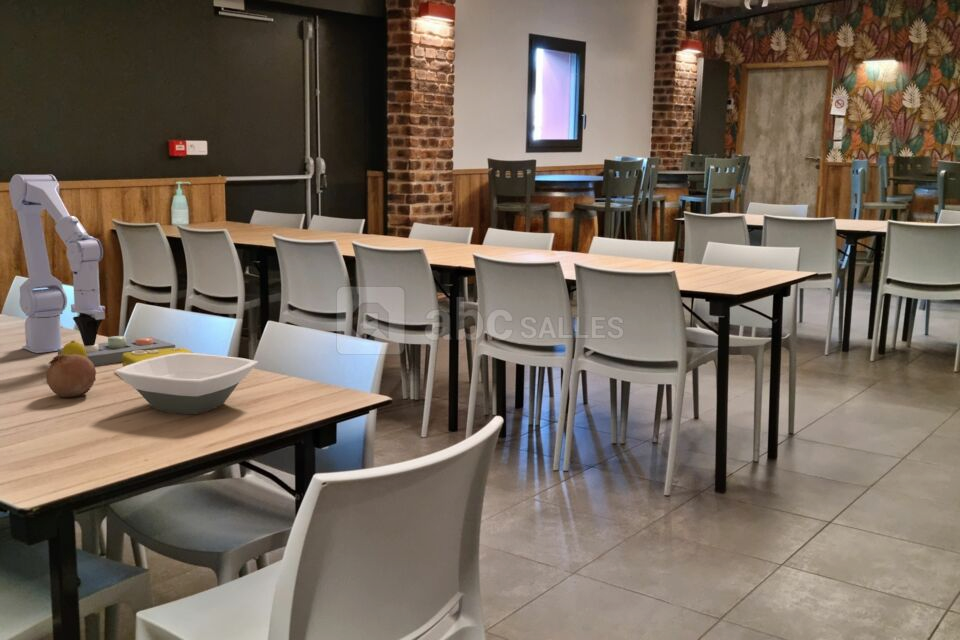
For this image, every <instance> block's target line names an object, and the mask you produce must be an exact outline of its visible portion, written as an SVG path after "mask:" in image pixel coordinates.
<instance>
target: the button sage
mask: <svg viewBox="0 0 960 640" xmlns="http://www.w3.org/2000/svg"><path fill="white" fill-rule="evenodd" d="M126 340H127V336H124V335H116V336H115V335H113V336H109V337H107V343H108V348H109V349H112V350H113V349H120V348H126Z"/></svg>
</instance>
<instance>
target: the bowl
mask: <svg viewBox="0 0 960 640" xmlns="http://www.w3.org/2000/svg"><path fill="white" fill-rule="evenodd" d="M257 364H259V361H258V360H254V359H249V358H243V357H235V356H226V355H218V354H217V355H216V354H208V353H197V352H196V353H195V352H194V353H174V354H169V355H163V356H159V357H155V358H151V359H146V360H142V361H139V362H136V363H133V364H130V365H127V366H125V367H123V366H122V367H121V368H118V369H116V370H114V373H115V374H116V375H117V376H118V377H120V378H121V379H122V380H123V381H125V383H127V384H128V385H130V387H132V388H133V389H134V390H136V391H137V392H138V393H139V394H140V395H141V396H142V397H143V398H144V400H145V401H147V403H148V404H149V405H150V406H151V408H153V409H154V410H156V411H157V410H158V411H160V412H166V413H167V412H168V413H173V414H180V415H193V414H195V415H198V413H199V414H202V412H203V413H206V412H209V411H212V410H214V409H213V408H215V407H217V408H218V406H219V407H221V406H222V405H224V404H225V402H226V401H227V400H228V399H229V397H230V396H231V394H232V393H233V392H234V390H235V389H236V388H237V387H238V385H239V384H240V382H242V381H243V379H245V377H246V376H248V374H249V373H250V372H251V371H252V370H253V369H254V368H255V367H256V366H257ZM223 403H224V404H223ZM221 404H222V405H221ZM220 405H221V406H220ZM211 409H212V410H211ZM215 409H216V408H215ZM208 410H209V411H208ZM205 411H206V412H205Z"/></svg>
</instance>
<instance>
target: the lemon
mask: <svg viewBox="0 0 960 640" xmlns="http://www.w3.org/2000/svg"><path fill="white" fill-rule="evenodd" d="M63 346H64V347H63V349H62V352H61V355H62V354H66V355H82V356H85V357H87V352H86V349H85V347H84V346H83V345H82V343H80V342H78V341H76V340H71V341H70V342H68V343H66V344H65V345H63Z"/></svg>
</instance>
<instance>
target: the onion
mask: <svg viewBox="0 0 960 640" xmlns="http://www.w3.org/2000/svg"><path fill="white" fill-rule="evenodd" d="M49 364H50V365H49ZM48 365H49V366H48V367H47V370H46V376H45V378H46V383H47V385H48V387H49V389H50V390H51V391H52V392H53V393H54V394H56V395H57V396H59V397H62V398H65V399H66V398H72V397H73V398H74V397H83V396H84V395H85V394H87V393H88V392H89V391H90V390H91V389H92V387H93V386H94V383H95V382H96V375H97V371H96V367H95V366H94V365H93V363H92V362H91V361H90V360H89V359H88V358H87V357H85V356H82V355H66V354H62V355H58V354H57V355H56V356H54V357H52V360H51V361H49V362H48Z"/></svg>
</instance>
